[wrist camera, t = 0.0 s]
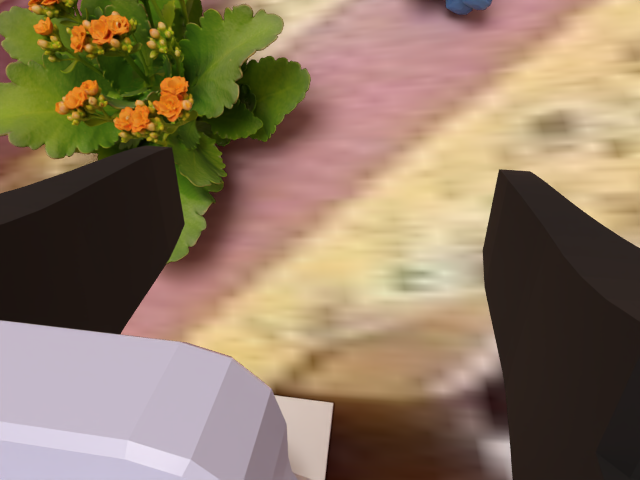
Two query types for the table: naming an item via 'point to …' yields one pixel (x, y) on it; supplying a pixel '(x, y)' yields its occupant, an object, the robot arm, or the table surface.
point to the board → (307, 434)
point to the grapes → (466, 5)
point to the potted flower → (146, 85)
